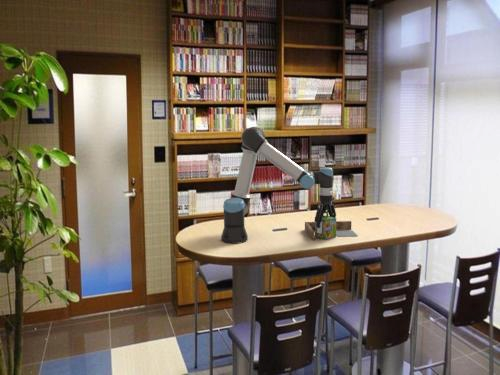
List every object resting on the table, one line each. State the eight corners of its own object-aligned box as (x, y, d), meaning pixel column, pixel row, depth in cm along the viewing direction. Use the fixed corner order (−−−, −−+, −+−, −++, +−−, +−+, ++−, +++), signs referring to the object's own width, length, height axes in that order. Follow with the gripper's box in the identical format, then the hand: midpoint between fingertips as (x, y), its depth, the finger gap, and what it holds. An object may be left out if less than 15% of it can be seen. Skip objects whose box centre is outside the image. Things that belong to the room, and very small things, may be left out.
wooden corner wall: (311, 239, 262) (311, 231, 261) (304, 229, 284) (304, 221, 283) (360, 238, 264) (361, 230, 263) (350, 228, 285) (350, 220, 285)
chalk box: (324, 239, 262) (324, 214, 260) (314, 236, 270) (314, 211, 268) (336, 237, 267) (337, 212, 264) (326, 233, 275) (326, 209, 272)
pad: (337, 236, 268) (337, 236, 268) (332, 231, 280) (332, 230, 280) (357, 236, 268) (357, 235, 268) (352, 230, 280) (352, 230, 280)
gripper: (319, 198, 253) (319, 236, 257) (342, 192, 271) (341, 227, 274) (308, 196, 258) (308, 234, 262) (331, 190, 276) (331, 225, 279)
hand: (325, 231), depth 268 cm, fingers open, 12 cm apart
